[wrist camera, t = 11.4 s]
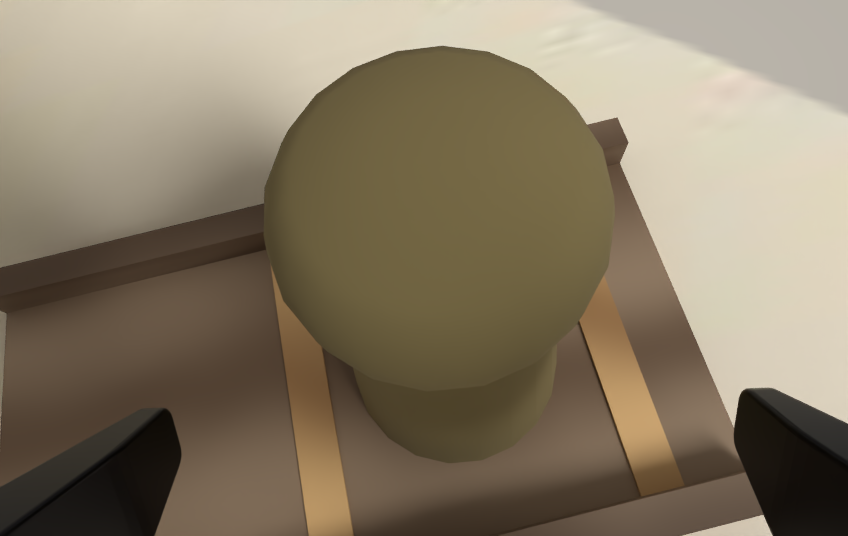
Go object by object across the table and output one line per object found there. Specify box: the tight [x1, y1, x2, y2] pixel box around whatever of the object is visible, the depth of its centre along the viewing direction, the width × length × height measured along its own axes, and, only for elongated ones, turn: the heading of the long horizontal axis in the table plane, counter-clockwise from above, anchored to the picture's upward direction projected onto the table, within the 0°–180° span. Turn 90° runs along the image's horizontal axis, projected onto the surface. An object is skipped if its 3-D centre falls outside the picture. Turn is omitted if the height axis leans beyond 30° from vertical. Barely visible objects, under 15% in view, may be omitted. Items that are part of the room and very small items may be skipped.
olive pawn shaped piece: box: [264, 46, 615, 463], centre depth 12 cm, size 6×6×11 cm
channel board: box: [0, 118, 763, 536], centre depth 17 cm, size 12×21×2 cm, turn 103°
